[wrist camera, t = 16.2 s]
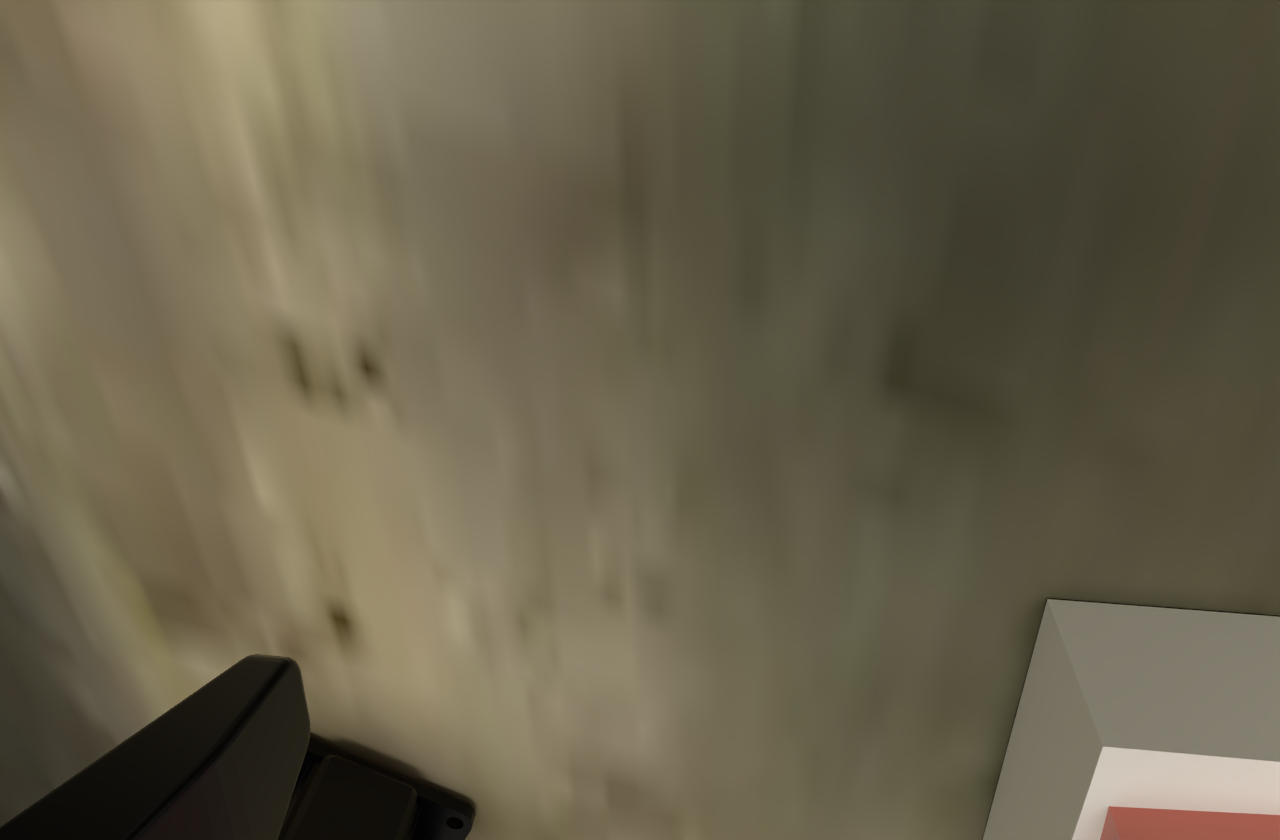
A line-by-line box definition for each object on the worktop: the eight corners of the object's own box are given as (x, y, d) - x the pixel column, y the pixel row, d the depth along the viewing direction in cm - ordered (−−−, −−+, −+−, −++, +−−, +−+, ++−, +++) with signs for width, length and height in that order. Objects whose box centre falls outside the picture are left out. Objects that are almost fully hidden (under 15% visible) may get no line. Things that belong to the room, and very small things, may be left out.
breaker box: (1231, 901, 28) (1306, 1071, 24) (972, 876, 29) (1005, 1037, 25) (1362, 622, 23) (1483, 780, 19) (1047, 598, 24) (1103, 746, 20)
